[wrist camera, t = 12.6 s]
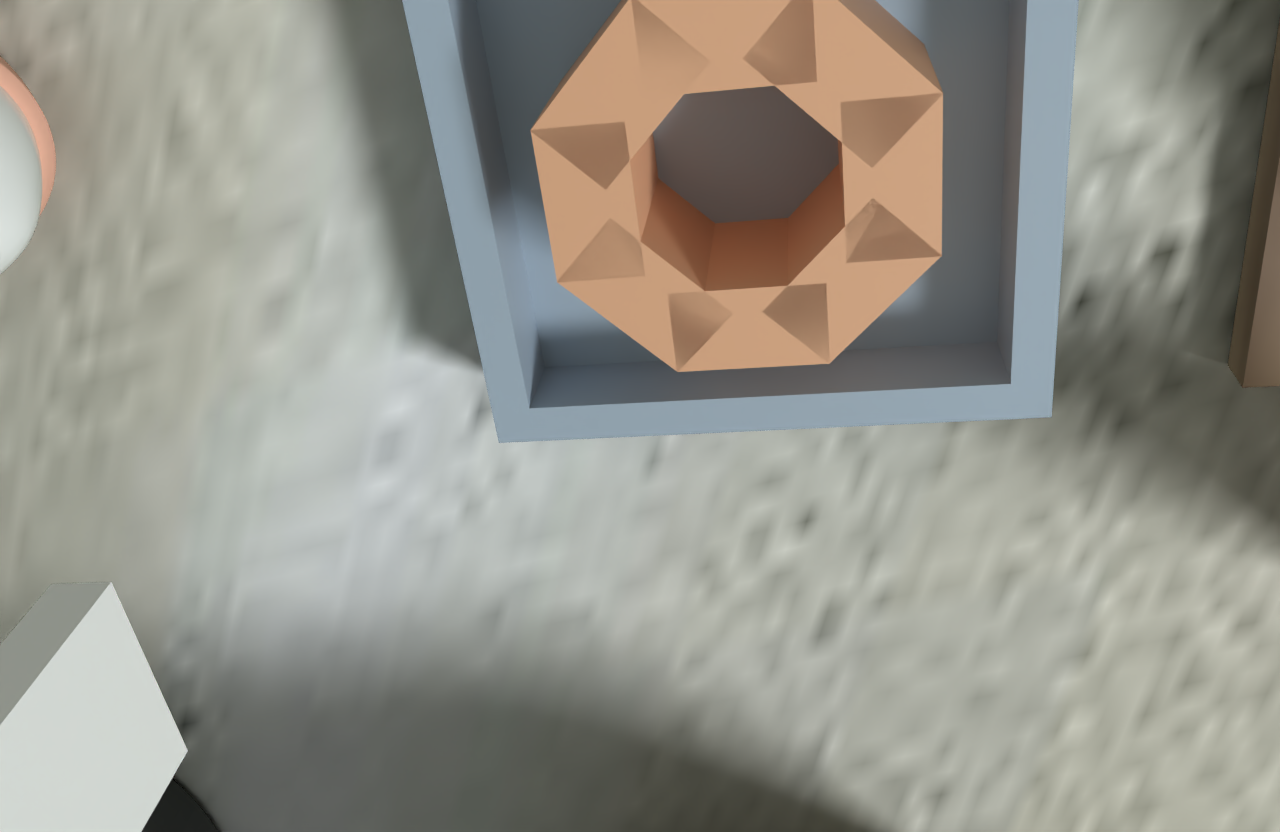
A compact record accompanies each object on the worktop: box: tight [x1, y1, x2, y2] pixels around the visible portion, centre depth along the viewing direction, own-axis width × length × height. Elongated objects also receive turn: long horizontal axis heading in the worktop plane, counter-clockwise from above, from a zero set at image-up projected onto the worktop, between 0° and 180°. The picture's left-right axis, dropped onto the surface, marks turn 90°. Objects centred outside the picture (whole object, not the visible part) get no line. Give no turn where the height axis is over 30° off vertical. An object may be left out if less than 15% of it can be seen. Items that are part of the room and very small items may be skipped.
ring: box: [530, 0, 943, 372], centre depth 26 cm, size 8×8×4 cm
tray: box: [402, 0, 1079, 443], centre depth 27 cm, size 14×14×3 cm
